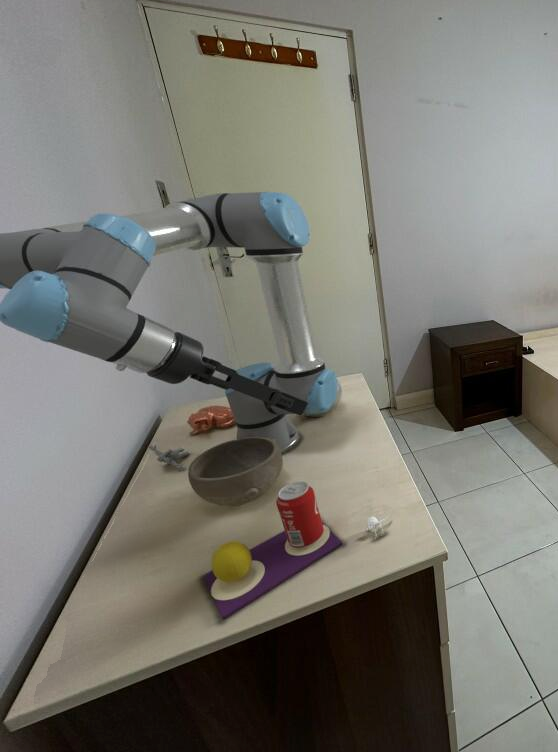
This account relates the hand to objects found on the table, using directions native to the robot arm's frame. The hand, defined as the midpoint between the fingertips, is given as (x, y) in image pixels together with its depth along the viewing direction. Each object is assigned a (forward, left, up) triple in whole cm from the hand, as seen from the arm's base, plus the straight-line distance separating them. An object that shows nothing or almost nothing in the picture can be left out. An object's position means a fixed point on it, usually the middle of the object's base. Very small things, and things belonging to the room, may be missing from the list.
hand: (282, 400), depth 77 cm
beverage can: (+9, -5, -26) cm, 28 cm away
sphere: (-44, +22, -27) cm, 56 cm away
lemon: (+9, -16, -26) cm, 32 cm away
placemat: (+9, -10, -27) cm, 30 cm away
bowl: (-18, -7, -27) cm, 33 cm away
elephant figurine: (-45, -17, -27) cm, 55 cm away
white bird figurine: (+17, +6, -27) cm, 32 cm away
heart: (-59, -3, -27) cm, 65 cm away
